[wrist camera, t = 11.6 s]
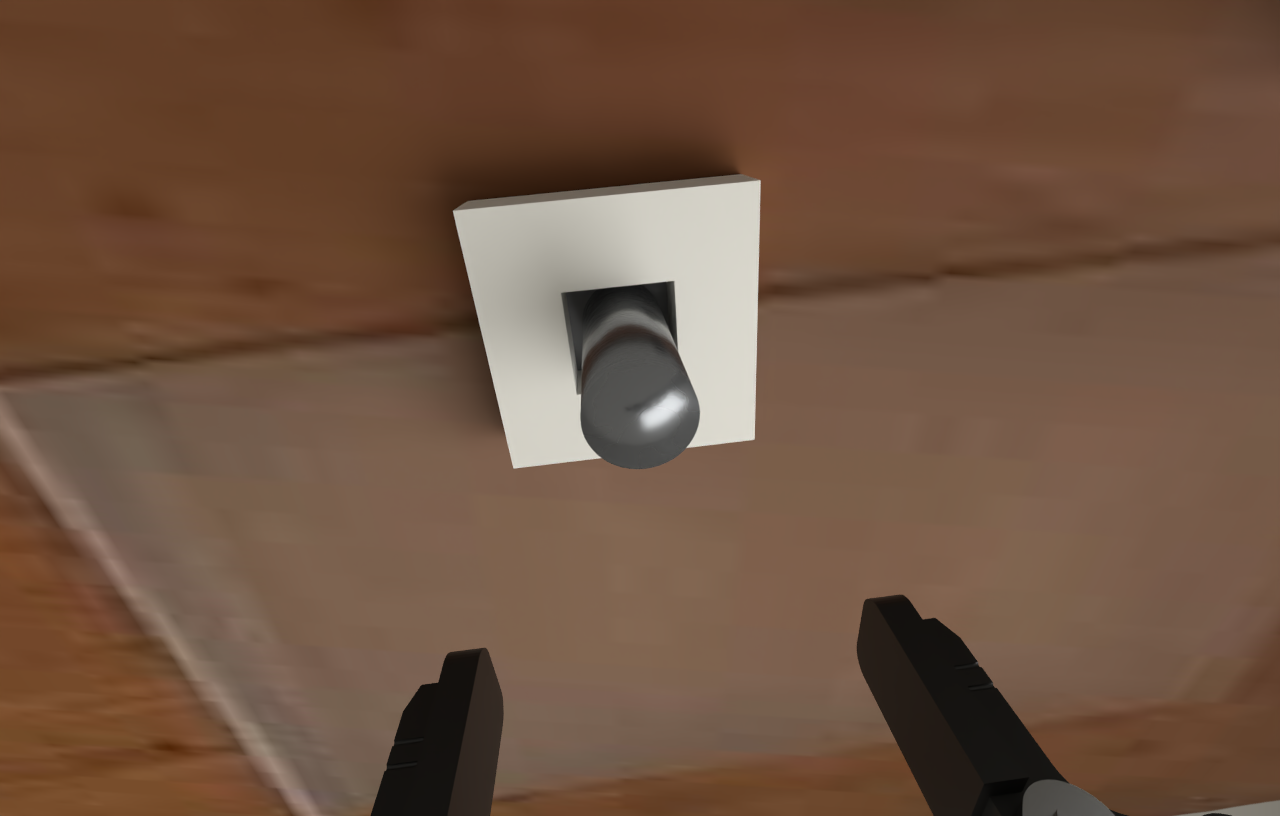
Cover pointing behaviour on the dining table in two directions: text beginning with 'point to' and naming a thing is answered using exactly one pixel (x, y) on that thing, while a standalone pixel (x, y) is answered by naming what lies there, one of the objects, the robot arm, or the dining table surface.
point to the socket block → (603, 258)
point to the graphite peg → (633, 381)
